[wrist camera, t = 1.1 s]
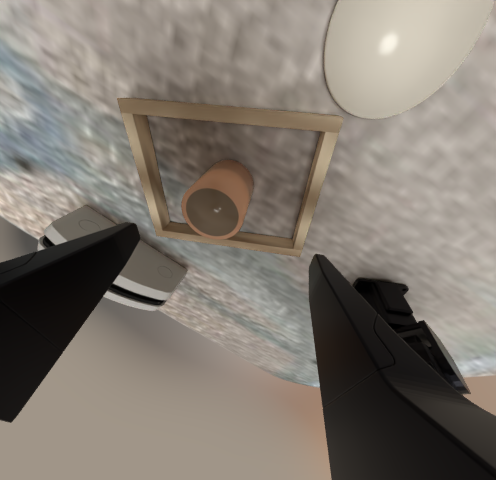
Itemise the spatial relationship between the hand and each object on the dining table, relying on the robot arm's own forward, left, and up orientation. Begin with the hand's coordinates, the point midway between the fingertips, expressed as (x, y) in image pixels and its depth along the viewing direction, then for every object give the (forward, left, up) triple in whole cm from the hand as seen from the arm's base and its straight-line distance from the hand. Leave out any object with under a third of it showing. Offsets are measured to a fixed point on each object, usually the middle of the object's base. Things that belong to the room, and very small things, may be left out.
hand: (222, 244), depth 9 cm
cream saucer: (+10, -9, -12) cm, 18 cm away
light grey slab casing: (-13, +16, -13) cm, 25 cm away
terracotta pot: (-2, +2, -12) cm, 13 cm away
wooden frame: (-2, +2, -12) cm, 13 cm away
